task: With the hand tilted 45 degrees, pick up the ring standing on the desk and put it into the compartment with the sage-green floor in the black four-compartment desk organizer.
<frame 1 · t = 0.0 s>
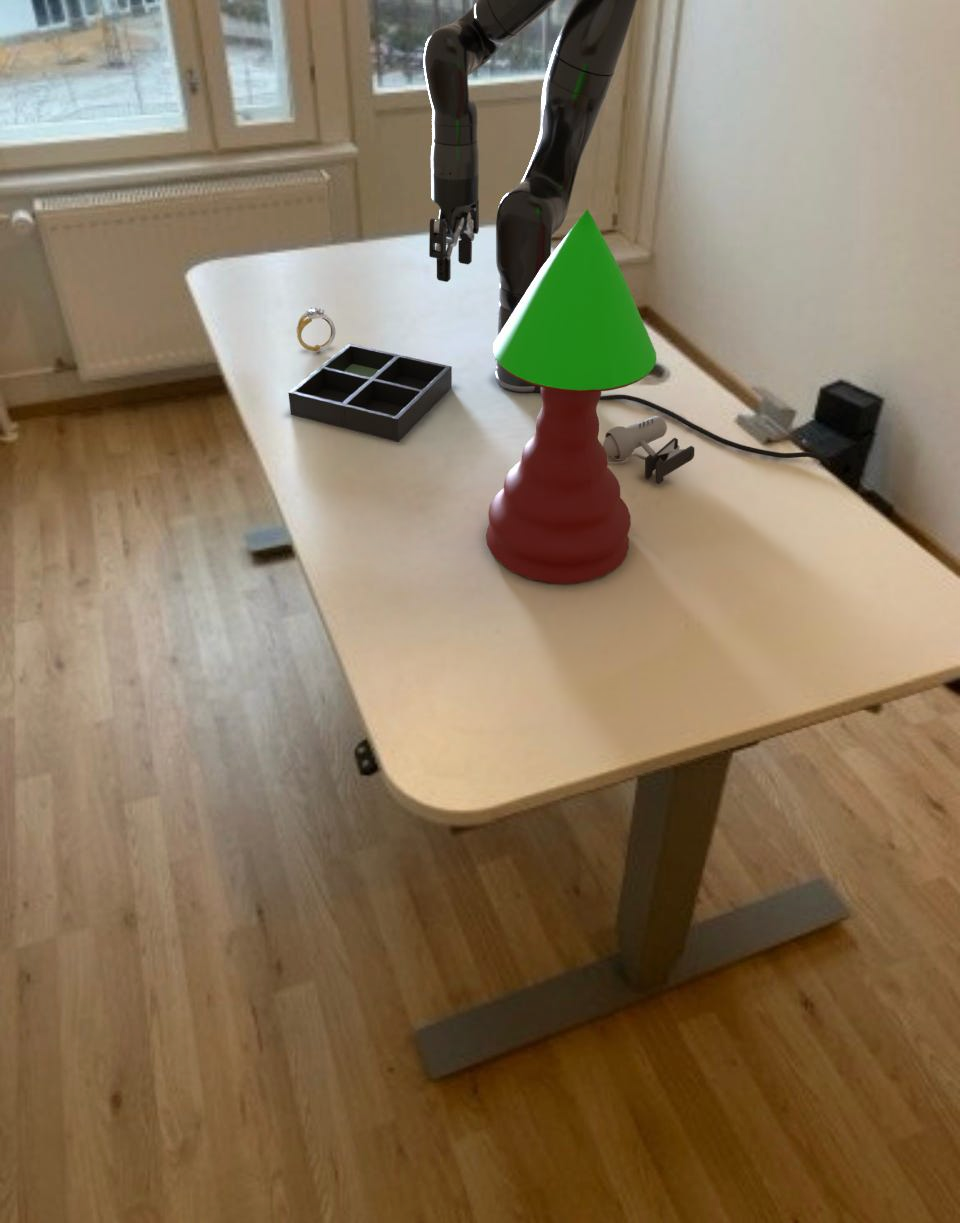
hand: (454, 271, 163), 17 cm above the table, tool pointing down, fingers open, 8 cm apart
clip-on lamp: (624, 470, 149), on the table
table lamp: (557, 542, 135), on the table
ring: (318, 352, 177), on the table
organizer: (373, 401, 163), on the table
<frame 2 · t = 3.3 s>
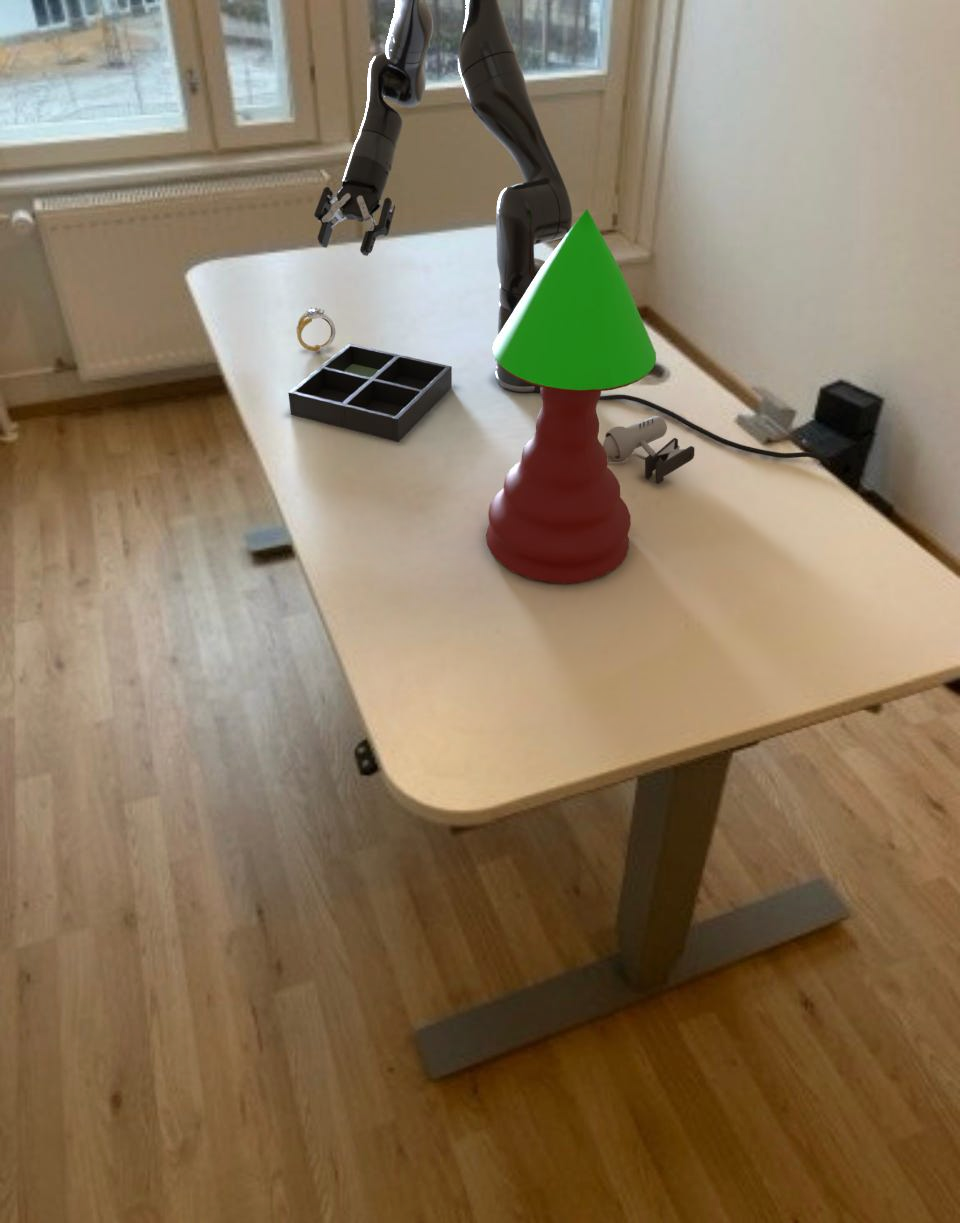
hand: (343, 249, 175), 15 cm above the table, tool tilted 45°, fingers open, 8 cm apart
nothing on the table moved.
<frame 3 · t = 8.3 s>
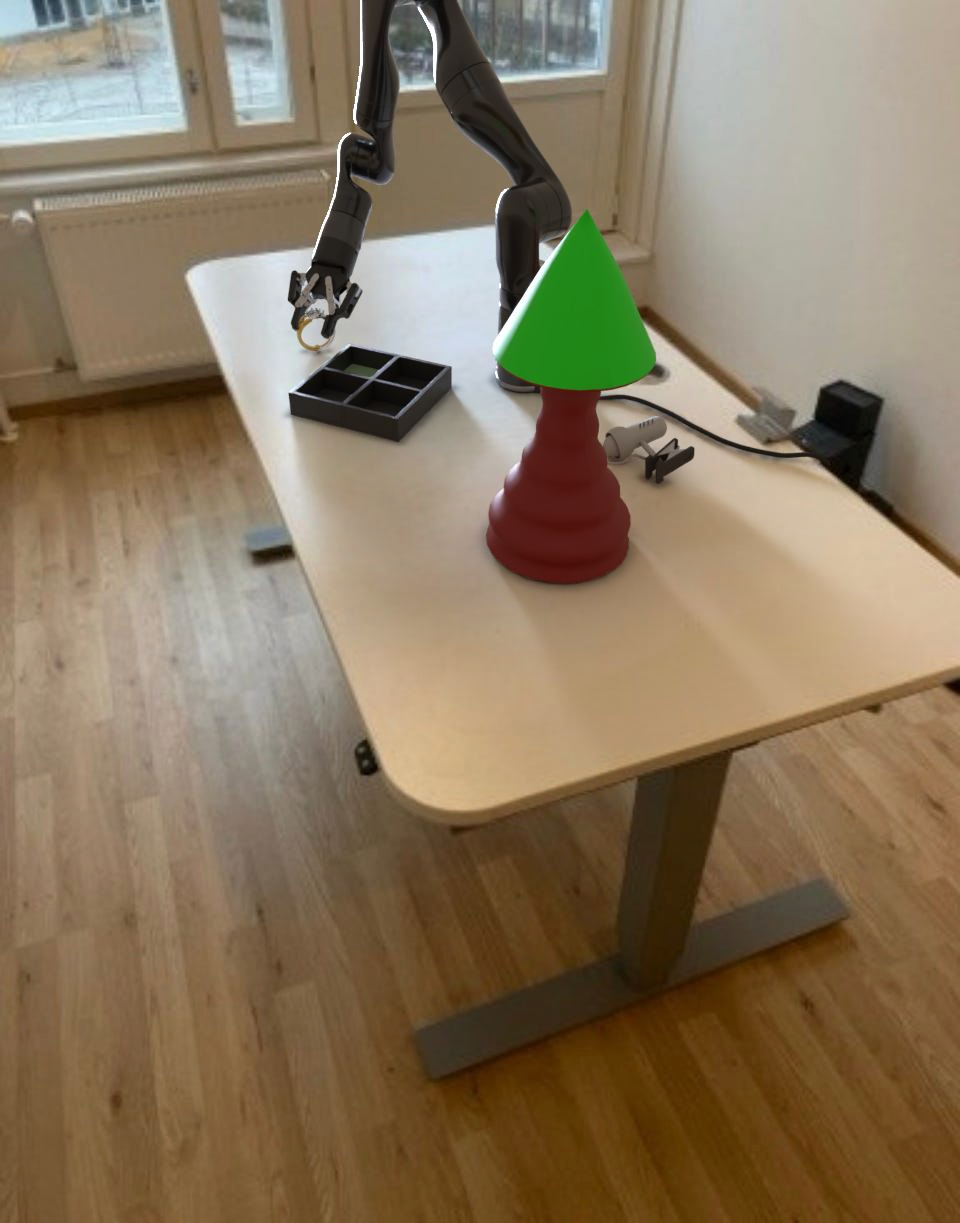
hand: (310, 333, 173), 4 cm above the table, tool tilted 45°, fingers closed on ring, 5 cm apart
ring: (317, 352, 177), on the table, touching gripper
everything else where it was.
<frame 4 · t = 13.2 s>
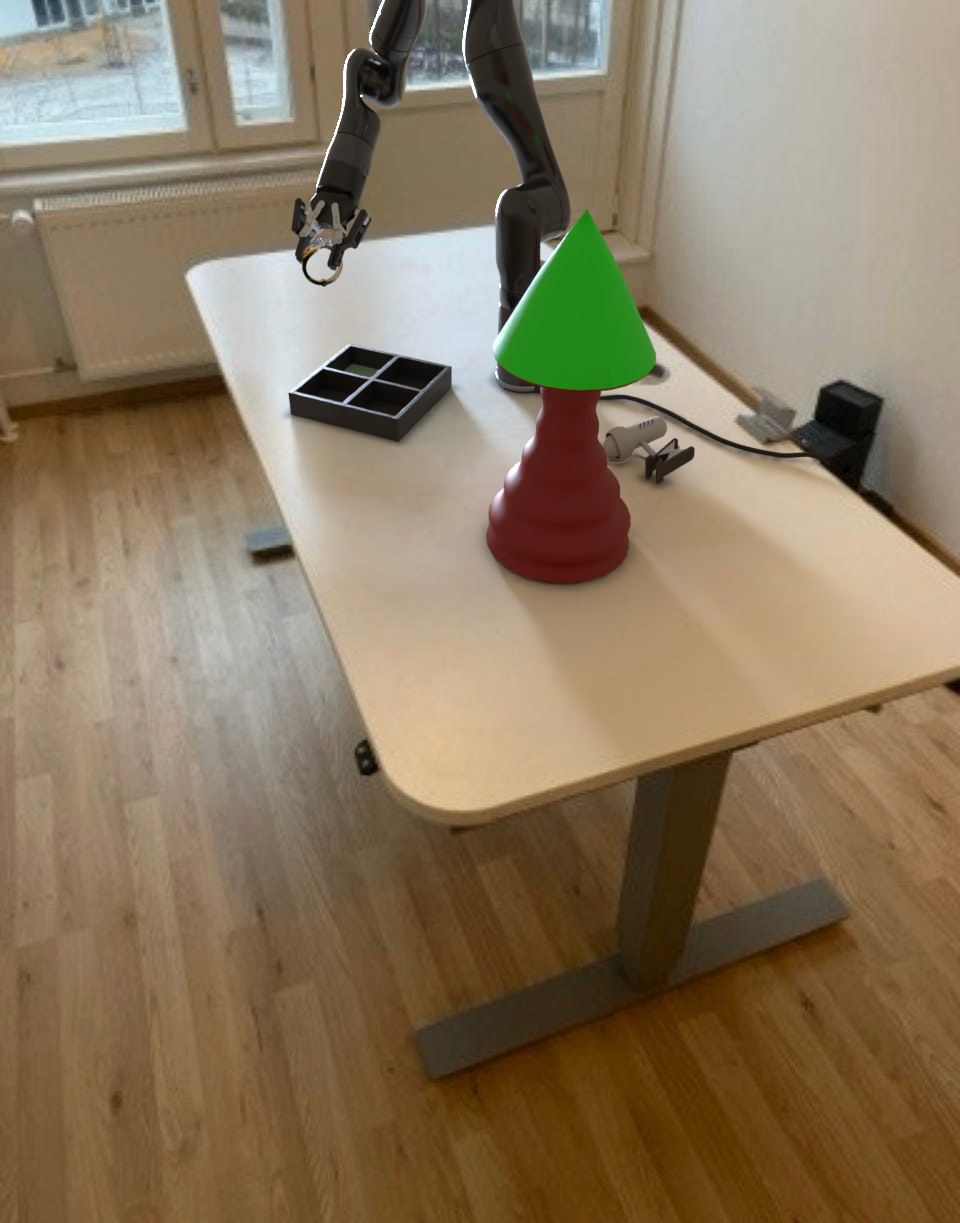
hand: (315, 264, 162), 18 cm above the table, tool tilted 45°, fingers closed on ring, 5 cm apart
ring: (324, 286, 166), point 13 cm above the table, touching gripper
everything else where it was.
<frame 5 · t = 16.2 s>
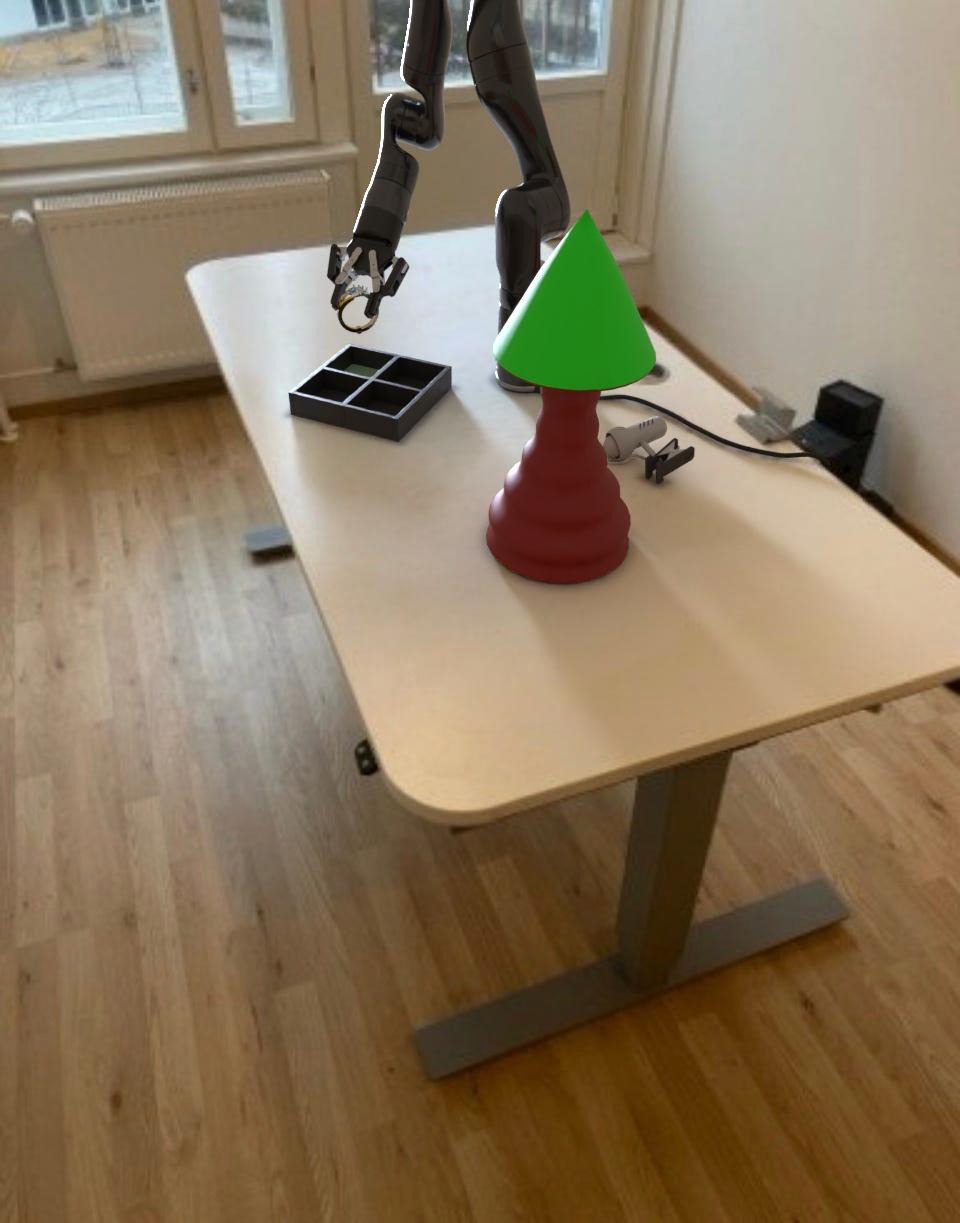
hand: (352, 312, 158), 13 cm above the table, tool tilted 45°, fingers closed on ring, 5 cm apart
ring: (359, 333, 163), point 9 cm above the table, touching gripper
everything else where it was.
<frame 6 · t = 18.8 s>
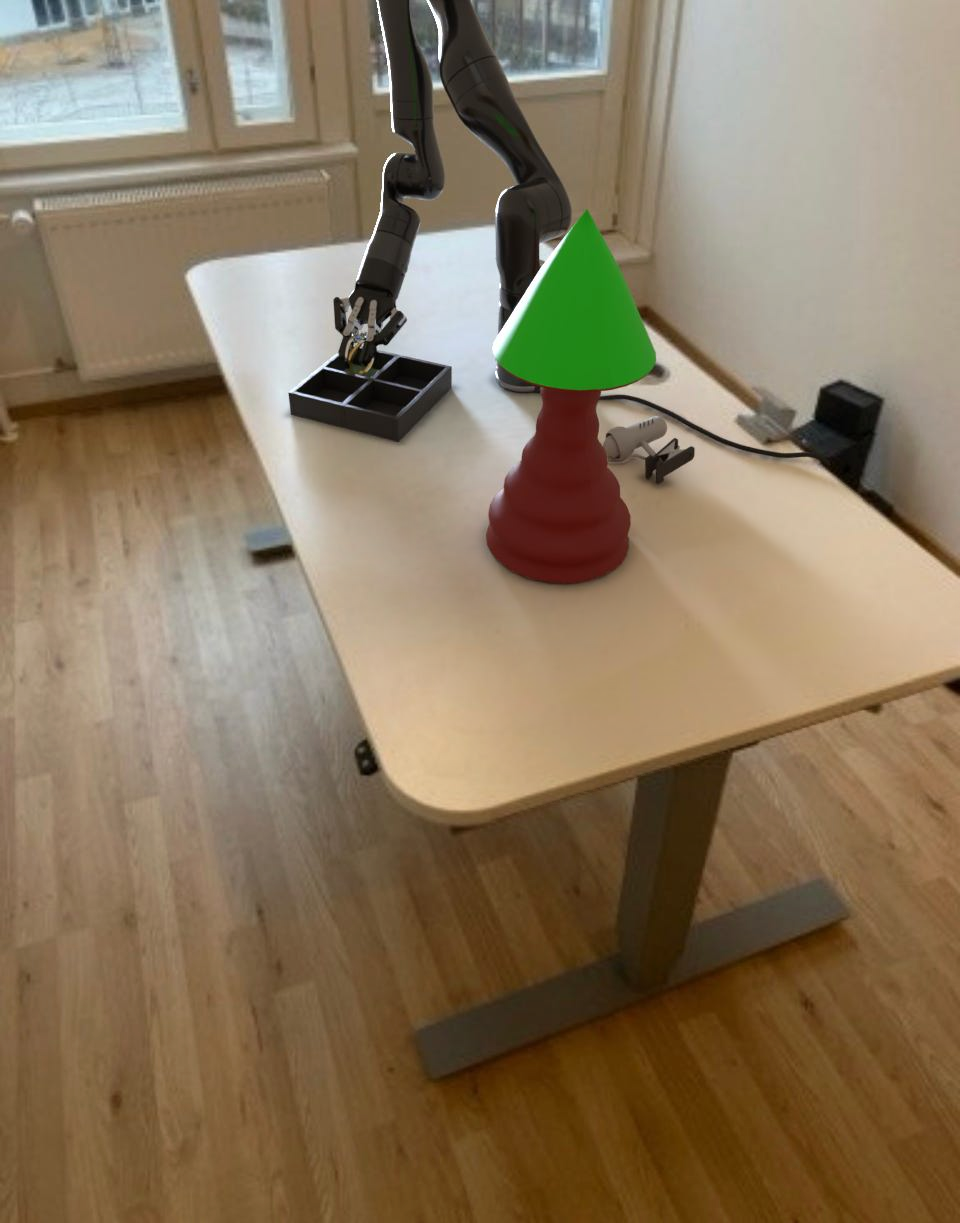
hand: (353, 361, 164), 5 cm above the table, tool tilted 45°, fingers closed on ring, 3 cm apart
ring: (363, 378, 168), point 1 cm above the table, touching gripper, organizer
everything else where it was.
when the fingers open (5 cm above the table, at t = 18.8 s): ring stays where it is, resting on organizer.
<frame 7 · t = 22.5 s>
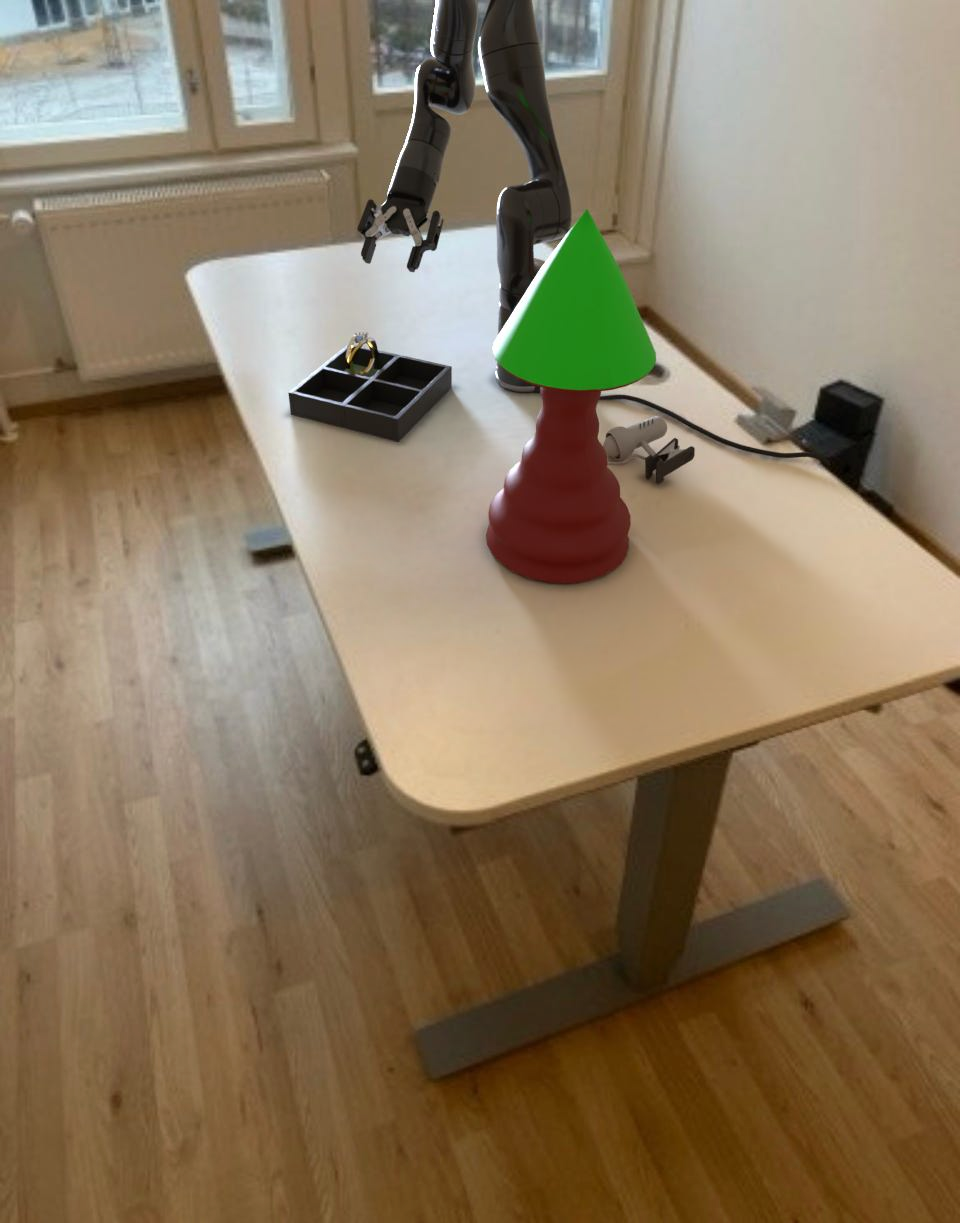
hand: (388, 265, 165), 17 cm above the table, tool tilted 45°, fingers open, 8 cm apart
ring: (363, 378, 168), point 1 cm above the table, touching organizer
everything else where it was.
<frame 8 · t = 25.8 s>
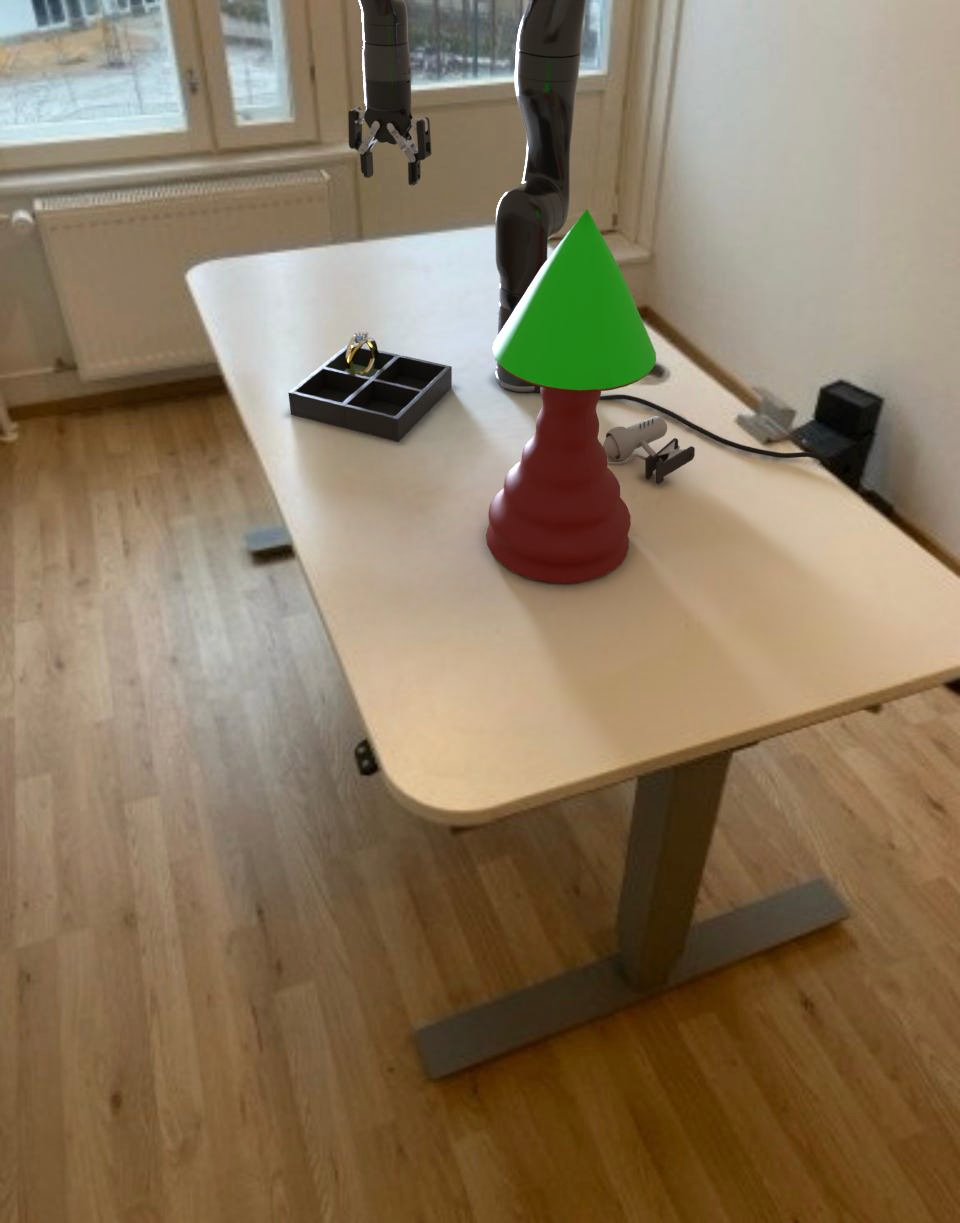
hand: (391, 180, 164), 28 cm above the table, tool pointing down, fingers open, 8 cm apart
nothing on the table moved.
at the end: ring inside the target area in the organizer (0.6 cm from its centre), point 0.6 cm above the organizer's base; the gripper is holding nothing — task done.
